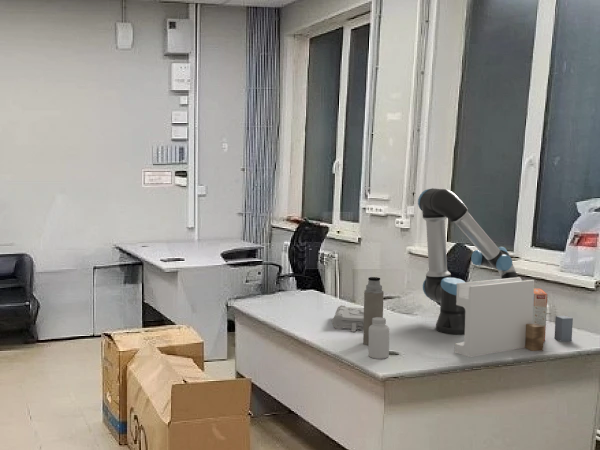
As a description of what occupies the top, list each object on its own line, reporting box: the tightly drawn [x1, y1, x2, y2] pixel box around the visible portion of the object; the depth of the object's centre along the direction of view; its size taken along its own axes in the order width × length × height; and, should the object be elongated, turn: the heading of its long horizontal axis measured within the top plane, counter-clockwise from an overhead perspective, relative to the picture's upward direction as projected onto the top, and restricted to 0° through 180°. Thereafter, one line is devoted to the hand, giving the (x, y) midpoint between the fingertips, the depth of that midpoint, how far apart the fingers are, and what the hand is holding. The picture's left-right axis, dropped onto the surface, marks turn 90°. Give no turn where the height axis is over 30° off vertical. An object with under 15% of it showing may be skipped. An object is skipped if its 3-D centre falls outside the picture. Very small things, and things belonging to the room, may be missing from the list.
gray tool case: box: [331, 305, 364, 333], centre depth 288 cm, size 19×28×8 cm
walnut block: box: [525, 324, 544, 352], centre depth 251 cm, size 5×5×10 cm
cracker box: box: [532, 287, 548, 342], centre depth 270 cm, size 14×6×21 cm, turn 168°
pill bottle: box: [367, 317, 390, 360], centre depth 238 cm, size 8×8×15 cm
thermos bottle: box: [362, 276, 385, 347], centre depth 256 cm, size 8×8×28 cm
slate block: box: [554, 315, 574, 342], centre depth 267 cm, size 5×5×10 cm
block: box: [454, 276, 535, 358], centre depth 250 cm, size 35×8×28 cm, turn 119°
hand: (525, 317), depth 279 cm, fingers closed
